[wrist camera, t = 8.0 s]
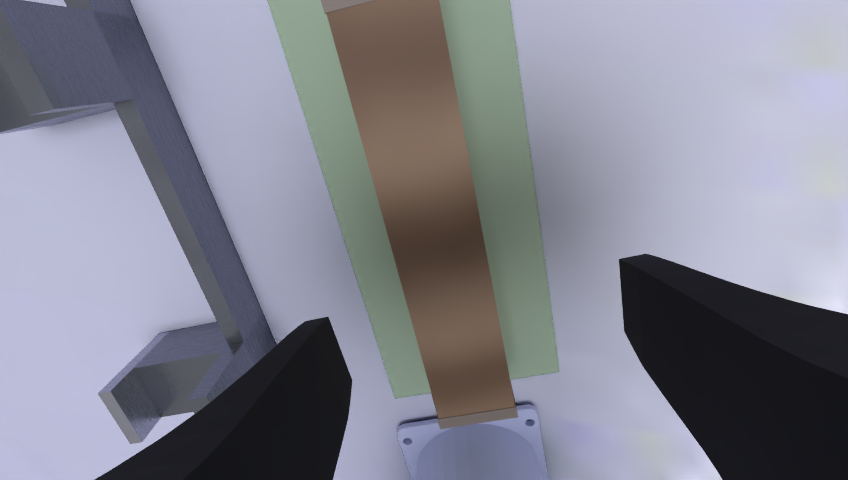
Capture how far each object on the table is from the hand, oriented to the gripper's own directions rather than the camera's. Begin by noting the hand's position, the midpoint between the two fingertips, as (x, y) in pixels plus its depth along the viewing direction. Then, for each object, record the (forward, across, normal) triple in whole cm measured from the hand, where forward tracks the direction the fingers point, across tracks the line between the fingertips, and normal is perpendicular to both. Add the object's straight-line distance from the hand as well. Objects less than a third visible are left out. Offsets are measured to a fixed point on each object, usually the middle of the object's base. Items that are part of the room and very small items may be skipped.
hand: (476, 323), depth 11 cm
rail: (+10, +1, 0) cm, 10 cm away
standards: (+10, +14, -2) cm, 17 cm away
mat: (+10, +1, 0) cm, 10 cm away
